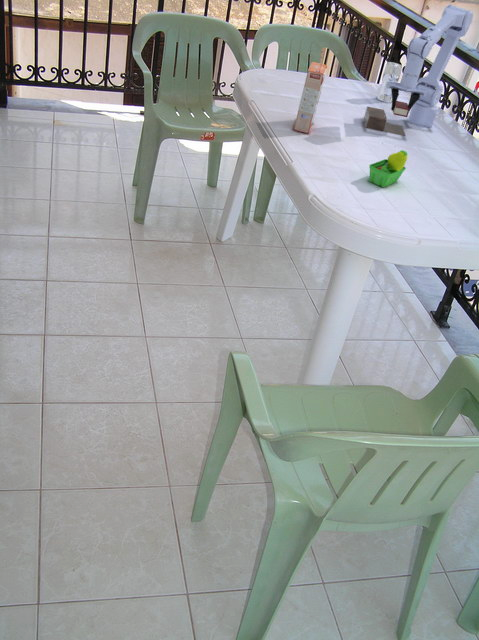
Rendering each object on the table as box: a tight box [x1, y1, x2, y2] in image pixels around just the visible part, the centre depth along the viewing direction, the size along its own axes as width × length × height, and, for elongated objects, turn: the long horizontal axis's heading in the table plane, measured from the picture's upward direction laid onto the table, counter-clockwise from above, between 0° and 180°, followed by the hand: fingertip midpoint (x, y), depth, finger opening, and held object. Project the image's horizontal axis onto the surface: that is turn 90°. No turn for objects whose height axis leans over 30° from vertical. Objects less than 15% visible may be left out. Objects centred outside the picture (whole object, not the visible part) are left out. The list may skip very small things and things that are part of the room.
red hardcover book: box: [392, 100, 411, 118], centre depth 251 cm, size 5×8×3 cm, turn 175°
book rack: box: [363, 106, 407, 137], centre depth 254 cm, size 15×12×6 cm
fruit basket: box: [369, 149, 408, 188], centre depth 208 cm, size 11×9×11 cm
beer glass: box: [377, 61, 403, 103], centre depth 288 cm, size 7×7×15 cm
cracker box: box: [293, 61, 328, 135], centre depth 237 cm, size 14×6×21 cm, turn 168°
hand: (399, 111), depth 251 cm, fingers closed on red hardcover book, 5 cm apart
